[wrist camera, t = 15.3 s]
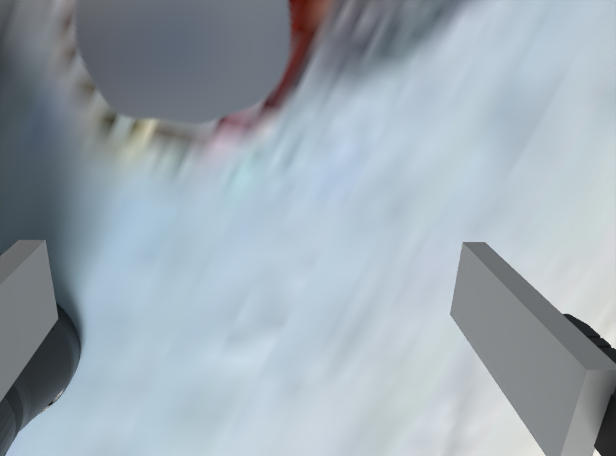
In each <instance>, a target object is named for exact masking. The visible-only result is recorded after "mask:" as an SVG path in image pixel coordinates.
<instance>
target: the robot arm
mask: <svg viewBox="0 0 616 456" xmlns="http://www.w3.org/2000/svg"><path fill="white" fill-rule="evenodd" d="M450 315H451V316H452V318H453V319H454V321H455V322H456V324H457V325H458V327H459V328H460V330H461V331H462V333H463V334H464V336H465V337H466V338H467V340H468V341H469V343H470V344H471V346H472V347H473V349H474V350H475V352H476V353H477V355H478V356H479V358H480V359H481V361H482V362H483V364H484V365H485V367H486V368H487V369H488V371H489V372H490V374H491V375H492V377H493V378H494V380H495V381H496V383H497V384H498V386H499V387H500V389H501V390H502V392H503V393H504V395H505V396H506V397H507V399H508V400H509V402H510V403H511V405H512V406H513V408H514V409H515V411H516V412H517V414H518V415H519V417H520V418H521V420H522V421H523V423H524V424H525V425H526V427H527V428H528V430H529V431H530V433H531V434H532V436H533V437H534V439H535V440H536V442H537V443H538V445H539V446H540V448H541V449H542V451H543V452H544V454H545V455H546V456H592V455H593V452H594V449H595V448H596V450H597V451H598V452H599V453H600V455H601V456H616V349H614V348H611V345H610V344H609V343H608V342H607V341H605V340H604V339H603V338H600V335H599V334H598V333H596V332H595V331H594V330H593V329H592V328H591V327H590V326H589V325H587V324H586V323H584V322H582V321H580V320H579V319H577V318H575V317H573V316H571V315H570V314H562V313H560V312H559V311H558V310H557V309H556V308H555V307H554V306H553V305H552V304H551V303H550V302H549V301H548V300H546V299H545V298H544V297H543V296H542V295H541V294H540V293H539V292H538V291H537V290H536V289H535V288H534V287H533V286H531V285H530V284H529V283H528V282H527V281H526V280H525V279H524V278H523V277H522V276H521V275H520V274H519V273H517V272H516V271H515V270H514V269H513V268H512V267H511V266H510V265H509V264H508V263H507V262H506V261H505V260H503V259H502V258H501V257H500V256H499V255H498V254H497V253H496V252H495V251H494V250H493V249H492V248H491V247H490V246H488V245H487V244H486V243H485V242H463V244H462V250H461V255H460V261H459V267H458V272H457V278H456V284H455V289H454V295H453V301H452V306H451V312H450ZM79 358H80V345H79V339H78V335H77V332H76V330H75V328H74V326H73V324H72V322H71V320H70V319H69V317H68V316H67V314H66V313H65V312H64V311H63V309H62V308H61V307H60V306H59V305H58V304H57V303H56V301H55V295H54V288H53V282H52V276H51V270H50V264H49V258H48V252H47V246H46V240H18V241H17V242H16V243H15V244H13V245H12V246H11V247H10V248H9V249H8V250H7V251H5V252H4V253H3V254H2V255H1V256H0V456H5V455H6V453H7V451H8V449H9V448H10V446H11V444H12V442H13V441H14V439H15V437H16V436H17V434H18V432H19V431H20V430H21V429H23V428H24V427H25V426H26V425H27V424H28V423H29V422H30V421H31V420H32V419H33V418H35V417H36V416H37V415H38V414H40V413H41V412H43V411H44V410H46V409H47V408H49V407H50V406H51V405H52V404H54V403H55V402H56V401H57V400H58V399H59V398H60V396H61V395H62V394H63V393H64V391H65V390H66V388H67V387H68V385H69V383H70V381H71V379H72V377H73V375H74V373H75V372H76V369H77V366H78V363H79Z"/></svg>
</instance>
